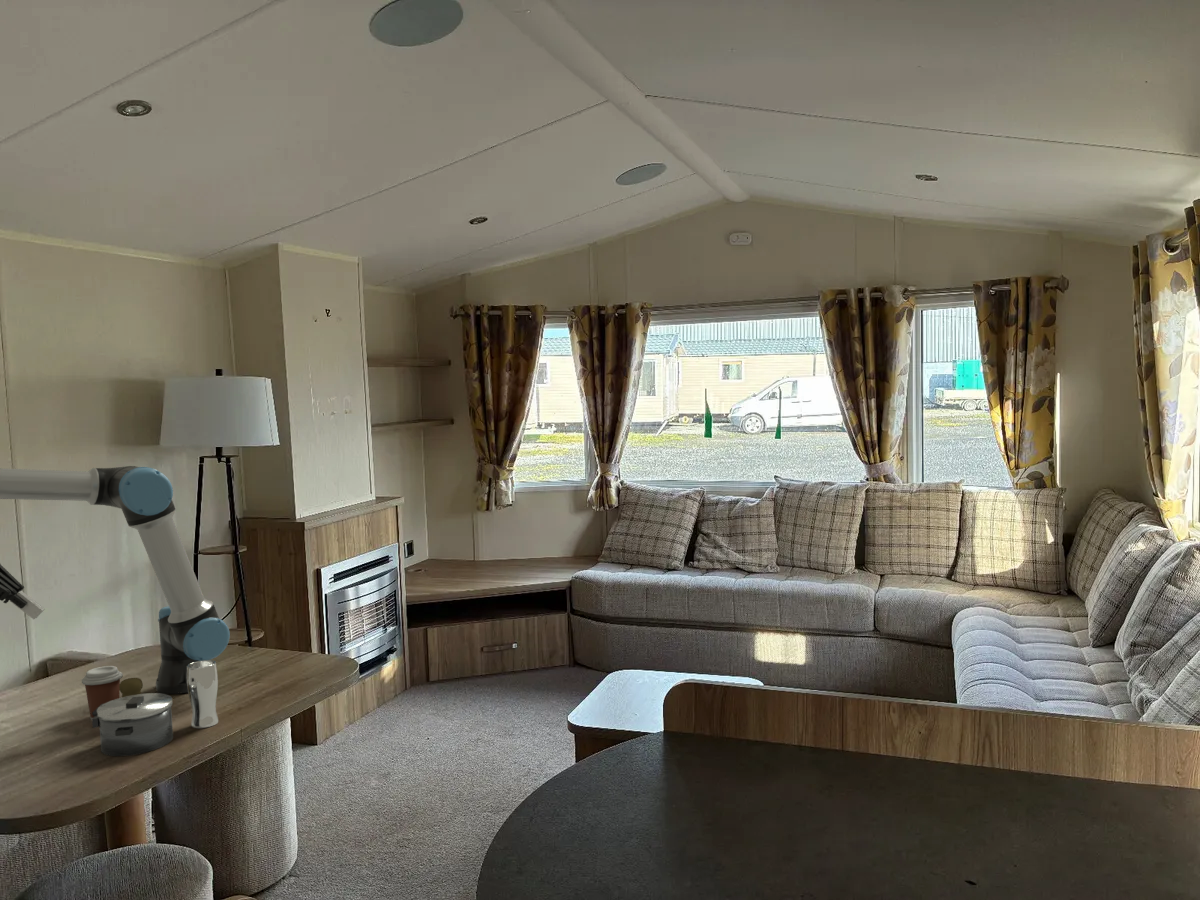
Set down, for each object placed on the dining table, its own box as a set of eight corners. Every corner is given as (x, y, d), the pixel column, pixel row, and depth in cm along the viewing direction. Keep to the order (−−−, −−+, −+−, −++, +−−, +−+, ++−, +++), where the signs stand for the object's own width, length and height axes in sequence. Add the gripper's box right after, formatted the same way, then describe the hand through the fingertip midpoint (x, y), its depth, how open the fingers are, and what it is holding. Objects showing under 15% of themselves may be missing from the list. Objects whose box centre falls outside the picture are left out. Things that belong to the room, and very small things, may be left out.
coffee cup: (78, 717, 229) (75, 671, 228) (116, 707, 236) (113, 662, 235) (93, 725, 223) (89, 677, 222) (131, 714, 230) (128, 668, 229)
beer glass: (197, 719, 225) (194, 660, 224) (225, 718, 225) (221, 659, 224) (184, 729, 218) (180, 668, 217) (212, 728, 218) (208, 668, 217)
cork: (135, 727, 221) (132, 683, 220) (114, 726, 222) (111, 682, 221) (152, 718, 227) (149, 675, 226) (131, 717, 228) (128, 674, 227)
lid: (83, 724, 201) (83, 715, 200) (107, 701, 216) (107, 692, 216) (161, 717, 204) (161, 708, 204) (180, 695, 219) (179, 686, 219)
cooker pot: (82, 763, 199) (80, 728, 199) (112, 732, 218) (109, 699, 218) (160, 755, 202) (158, 720, 202) (182, 725, 221) (180, 693, 221)
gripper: (-46, 553, 207) (39, 619, 211) (-77, 564, 194) (14, 634, 198) (-22, 529, 207) (62, 595, 211) (-52, 538, 195) (39, 608, 199)
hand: (39, 614), depth 205 cm, fingers closed
